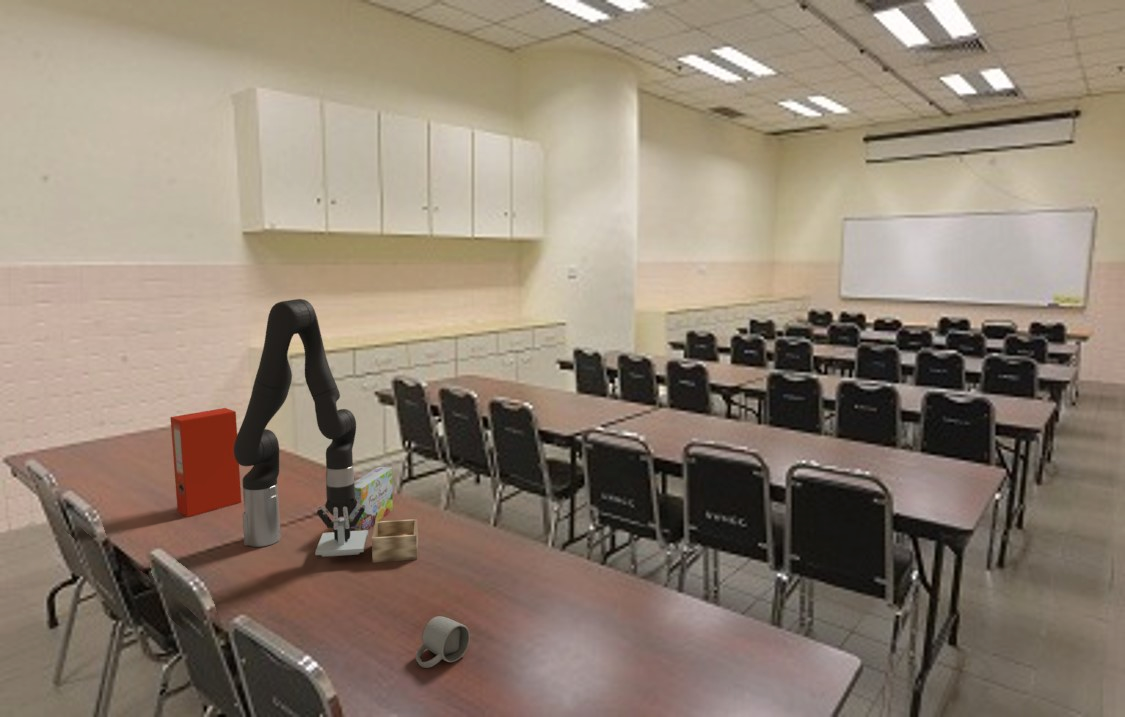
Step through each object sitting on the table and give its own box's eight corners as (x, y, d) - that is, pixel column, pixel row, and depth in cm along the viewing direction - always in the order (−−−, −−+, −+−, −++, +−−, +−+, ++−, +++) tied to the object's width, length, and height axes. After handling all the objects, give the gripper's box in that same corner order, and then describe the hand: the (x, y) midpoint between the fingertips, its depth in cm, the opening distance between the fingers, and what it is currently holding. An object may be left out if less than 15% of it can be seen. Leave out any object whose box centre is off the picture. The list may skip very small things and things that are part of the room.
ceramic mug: (446, 638, 149) (444, 606, 148) (471, 652, 144) (470, 619, 143) (407, 660, 141) (405, 627, 140) (432, 676, 136) (431, 642, 135)
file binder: (241, 502, 228) (235, 411, 223) (188, 517, 215) (180, 420, 210) (230, 497, 233) (224, 407, 228) (177, 511, 220) (169, 416, 215)
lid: (315, 559, 182) (314, 532, 181) (323, 540, 194) (322, 514, 193) (363, 556, 184) (362, 529, 183) (368, 537, 196) (367, 512, 195)
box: (372, 562, 185) (371, 538, 184) (376, 544, 197) (375, 521, 196) (416, 559, 187) (416, 535, 186) (417, 541, 199) (417, 519, 198)
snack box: (363, 535, 203) (361, 488, 201) (346, 534, 204) (344, 486, 202) (394, 510, 224) (392, 466, 221) (378, 508, 225) (377, 465, 222)
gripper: (312, 487, 181) (314, 547, 184) (364, 484, 184) (366, 544, 186) (316, 478, 189) (319, 536, 191) (367, 475, 191) (369, 533, 194)
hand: (342, 540), depth 189 cm, fingers closed on lid, 1 cm apart
